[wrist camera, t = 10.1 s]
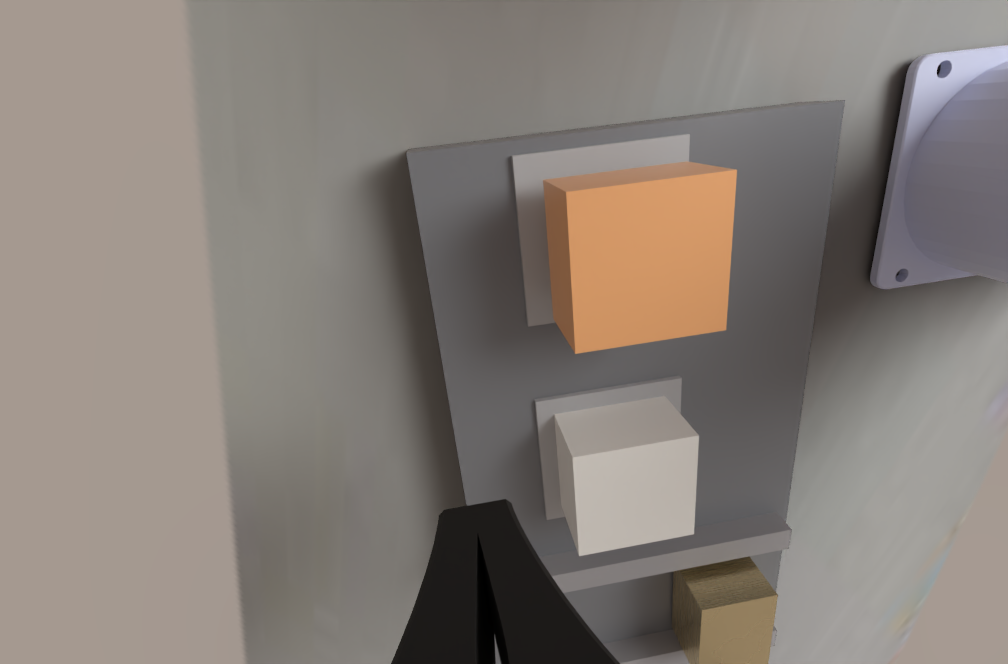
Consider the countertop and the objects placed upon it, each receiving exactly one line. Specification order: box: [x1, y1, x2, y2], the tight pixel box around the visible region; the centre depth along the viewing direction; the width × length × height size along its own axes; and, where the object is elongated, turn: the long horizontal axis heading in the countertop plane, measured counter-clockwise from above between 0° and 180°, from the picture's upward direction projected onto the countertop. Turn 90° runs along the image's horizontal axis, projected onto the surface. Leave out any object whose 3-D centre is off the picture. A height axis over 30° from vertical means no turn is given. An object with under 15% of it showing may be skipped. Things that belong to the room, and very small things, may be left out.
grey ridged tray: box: [406, 100, 845, 664], centre depth 20 cm, size 13×24×3 cm, turn 6°
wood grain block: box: [672, 556, 778, 664], centre depth 21 cm, size 3×4×2 cm
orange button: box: [543, 161, 737, 354], centre depth 14 cm, size 4×4×2 cm
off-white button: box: [554, 396, 699, 556], centre depth 18 cm, size 4×4×2 cm
